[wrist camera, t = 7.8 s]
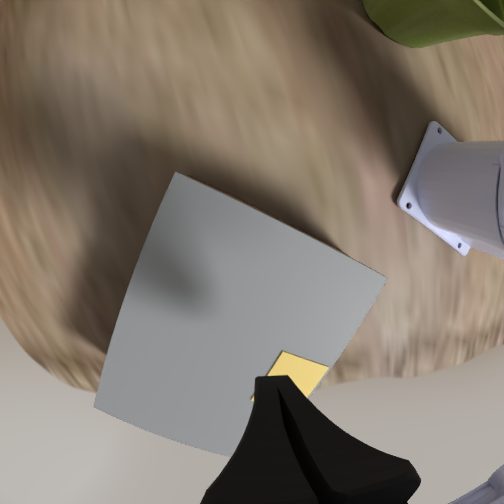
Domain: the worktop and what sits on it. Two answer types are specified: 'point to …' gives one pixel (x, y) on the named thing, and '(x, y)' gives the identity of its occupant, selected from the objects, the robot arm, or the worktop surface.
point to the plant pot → (435, 19)
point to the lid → (225, 317)
